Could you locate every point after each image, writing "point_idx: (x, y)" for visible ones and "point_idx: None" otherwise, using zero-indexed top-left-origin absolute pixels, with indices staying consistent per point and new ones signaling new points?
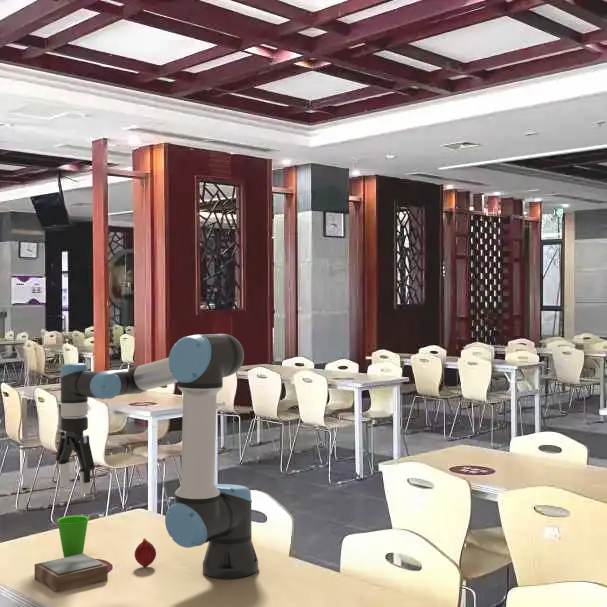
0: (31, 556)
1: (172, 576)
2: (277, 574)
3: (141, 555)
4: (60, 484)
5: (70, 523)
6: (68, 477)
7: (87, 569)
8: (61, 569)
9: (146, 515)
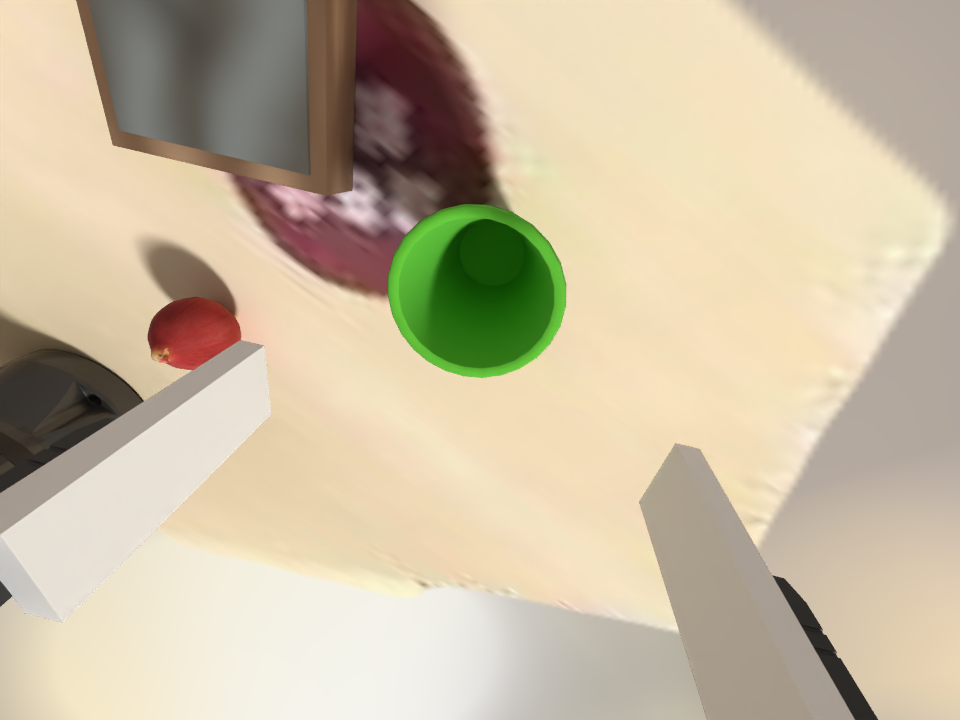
0: (662, 153)
1: (108, 301)
2: None
3: (166, 305)
4: (693, 460)
5: (408, 235)
6: (665, 563)
7: (91, 37)
8: None
9: (636, 608)
